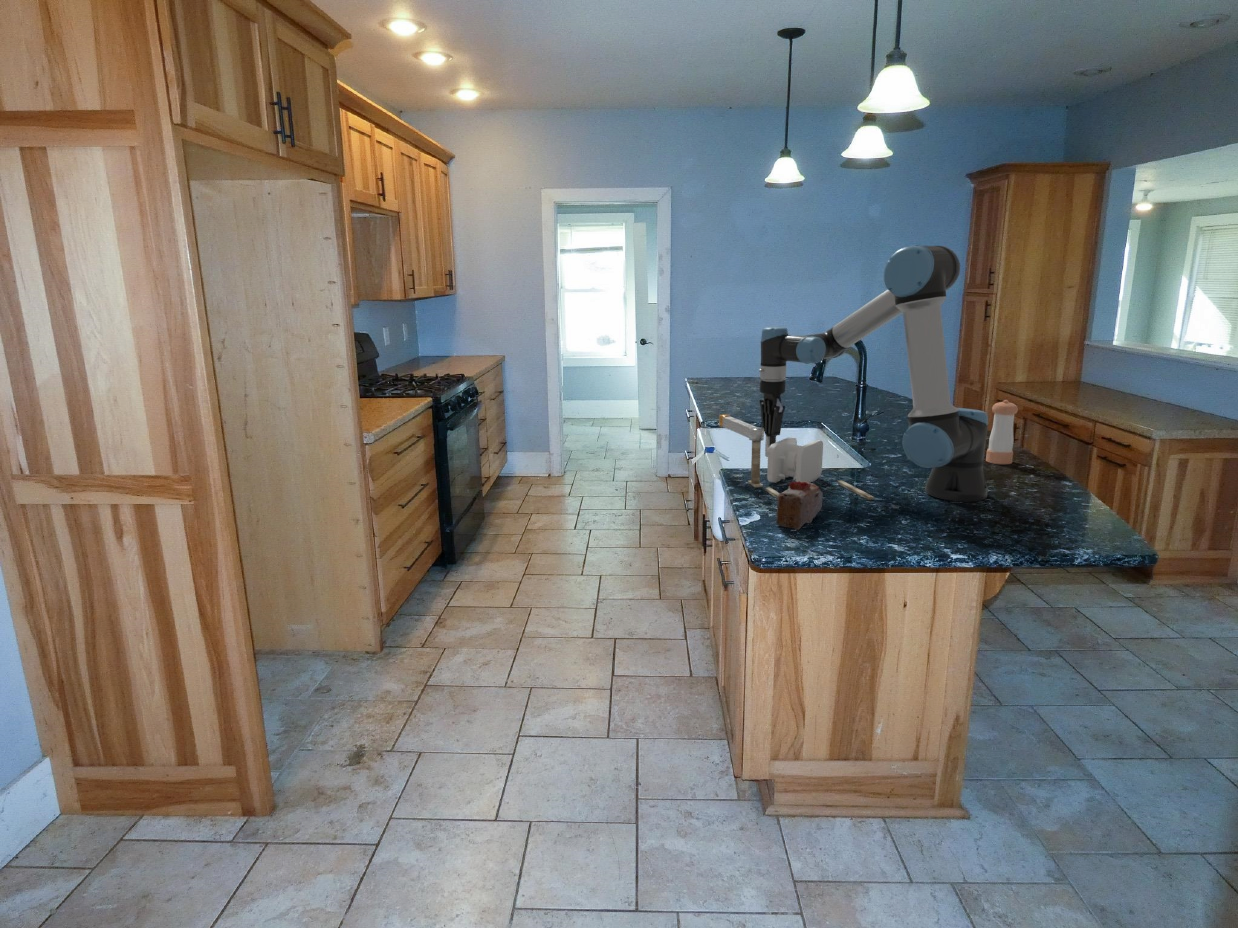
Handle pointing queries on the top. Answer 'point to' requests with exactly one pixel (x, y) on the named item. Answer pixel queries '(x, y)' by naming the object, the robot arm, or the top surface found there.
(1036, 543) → the top surface
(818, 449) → the cable organizer
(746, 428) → the gold knob lever
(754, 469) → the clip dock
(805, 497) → the food item
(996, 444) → the pepper shaker
